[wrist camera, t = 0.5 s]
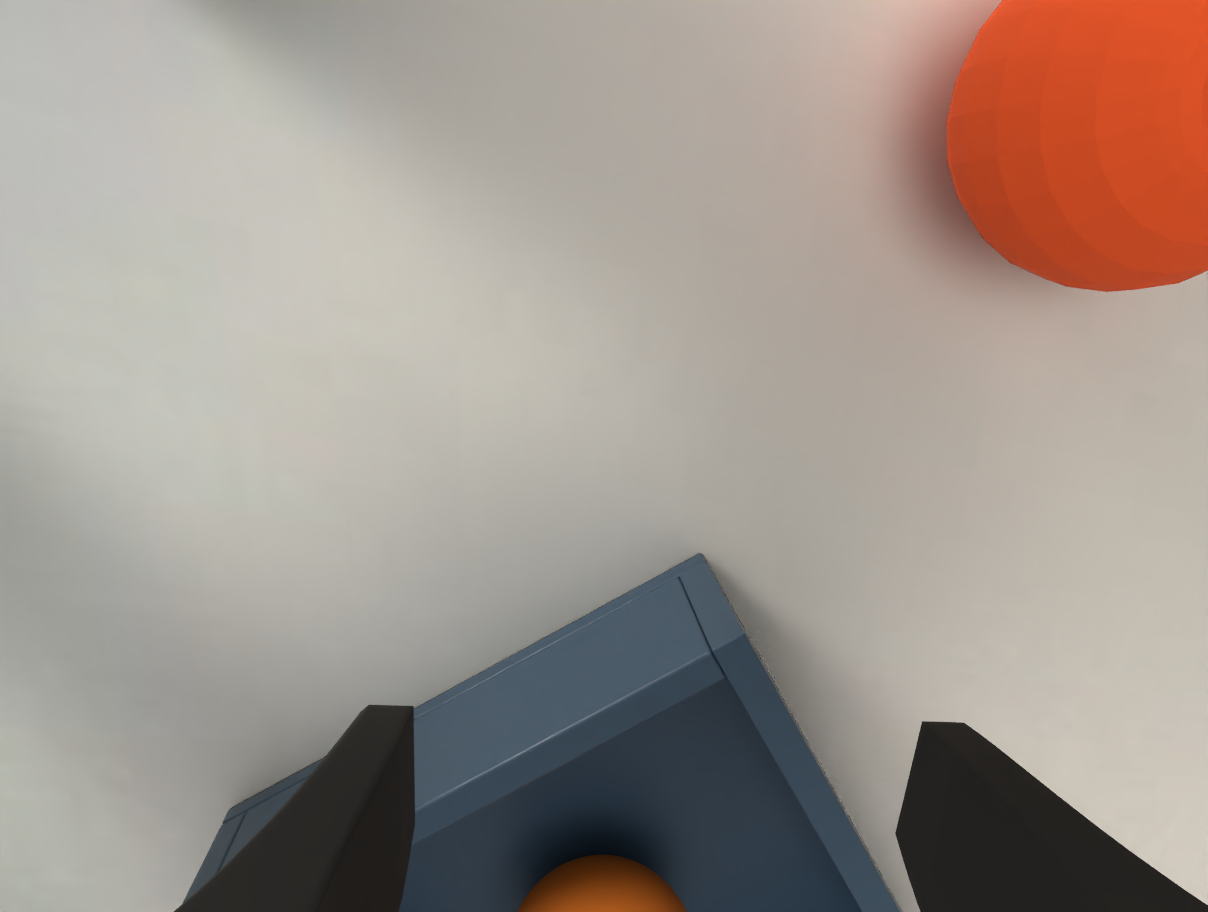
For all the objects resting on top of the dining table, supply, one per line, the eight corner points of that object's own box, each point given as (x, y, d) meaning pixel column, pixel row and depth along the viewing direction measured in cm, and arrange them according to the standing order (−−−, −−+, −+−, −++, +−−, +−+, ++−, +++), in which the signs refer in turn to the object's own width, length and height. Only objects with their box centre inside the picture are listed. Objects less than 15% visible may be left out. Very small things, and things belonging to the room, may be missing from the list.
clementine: (1034, -143, 19) (1328, -352, 12) (1257, 34, 20) (1633, -61, 13) (836, 188, 20) (995, 171, 13) (1056, 330, 22) (1301, 381, 15)
